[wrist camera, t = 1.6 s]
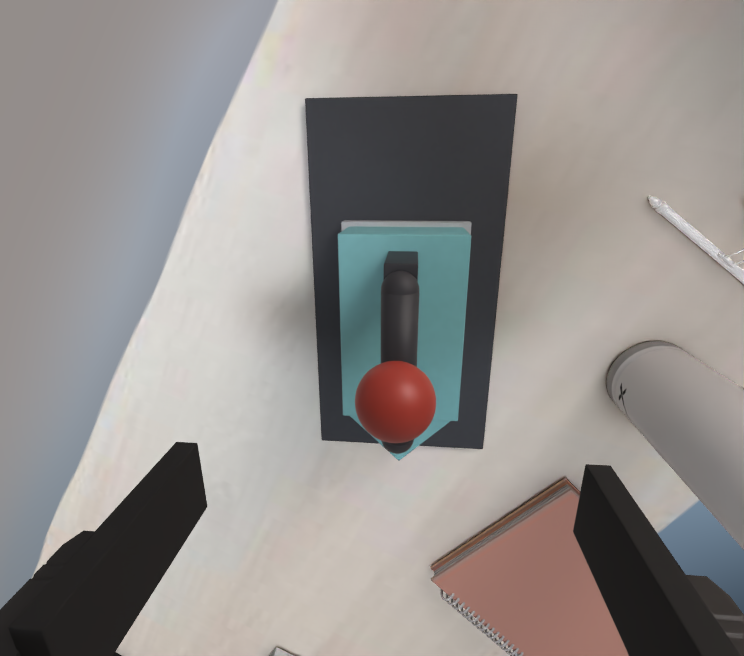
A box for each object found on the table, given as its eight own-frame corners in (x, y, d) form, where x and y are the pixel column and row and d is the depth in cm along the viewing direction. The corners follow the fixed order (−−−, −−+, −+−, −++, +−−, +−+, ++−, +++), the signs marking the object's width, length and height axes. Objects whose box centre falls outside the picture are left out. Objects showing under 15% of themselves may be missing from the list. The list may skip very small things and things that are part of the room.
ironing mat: (516, 94, 28) (517, 93, 28) (482, 446, 37) (482, 449, 36) (306, 99, 29) (305, 98, 29) (322, 437, 38) (321, 440, 38)
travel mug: (585, 390, 34) (789, 648, 15) (644, 324, 32) (968, 532, 13) (647, 428, 35) (918, 723, 16) (710, 367, 33) (1109, 623, 14)
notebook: (422, 570, 42) (422, 588, 40) (564, 476, 37) (572, 491, 35) (595, 716, 46) (603, 739, 45) (743, 650, 41) (759, 673, 40)
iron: (454, 429, 36) (481, 604, 21) (348, 423, 37) (303, 588, 22) (469, 221, 30) (519, 261, 15) (344, 220, 31) (278, 258, 16)
